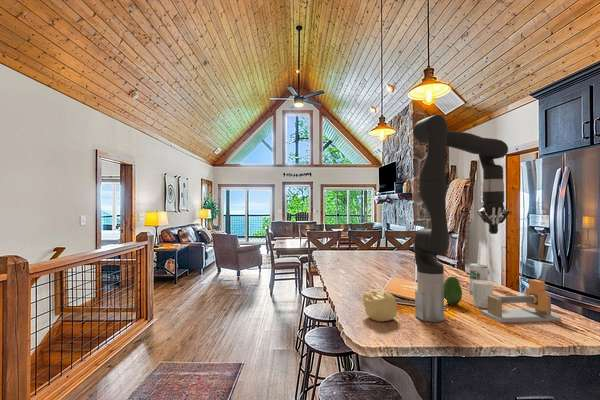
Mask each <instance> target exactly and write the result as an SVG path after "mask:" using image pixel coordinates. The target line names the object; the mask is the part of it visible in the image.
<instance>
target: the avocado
mask: <svg viewBox="0 0 600 400" xmlns="http://www.w3.org/2000/svg"><path fill="white" fill-rule="evenodd" d="M444 281H445V282H444V298H445V299H446V300H447V302H446V304H448V305H450V306H451V305H452V306H456V305H458V304H459V303H460V302H461V300H462V297H463V289H462V287H461V284H460V281H459V279H458V277H456V276H449V277H448V278H446V280H444Z"/></svg>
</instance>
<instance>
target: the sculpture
mask: <svg viewBox="0 0 600 400" xmlns="http://www.w3.org/2000/svg"><path fill="white" fill-rule="evenodd" d="M362 296H363V297H362V299H363V307H364V308H365V314H366V316H367V317H368V318H370V319H371V320H372V321H374V322H381V323H382V322H387V321H391V320H394V319H395V317H396V316H397V314H398V303H397V300H396V298H395V297H394V295H392V293H390V292H388V291H386V290H381V289H379V288H377V289H372V290H368V291H367V292H366V293H364V294H363V295H362Z"/></svg>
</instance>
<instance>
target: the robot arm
mask: <svg viewBox="0 0 600 400" xmlns="http://www.w3.org/2000/svg"><path fill="white" fill-rule="evenodd" d="M412 134H413V136H414V139H416V140H417V141H418V142H419V143H422V144H423V143H424V144H427V154H426V158H425V160H424V163H423V166H422V167H421V170H420V172H419V177H418V186H419V187H418V191H419V192H418V193H419V197H420V200H421V201H422V204H423V205H424V207H425V208H426V210H427V212H428V214H429V216H430V217H429V218H430V223H431V228H420V229H418V230H417V231H416V233H415V236H414V244H413V245H414V260H415V266H416V270H417V271H416V273H417V275H416V276H417V277H416V278H417V279H416V280H417V285H416V286H417V288H416V289H417V290H416V289H415V292H414V296H415V297H414V303H415V304H414V308H415V309H414V313H415V315H414V316H415V317H417V319H420V320H421V321H422V322H432V323H439V322H440V323H441V322H444V320H445V300H444V283H445V282H444V281H445V275H444V274H445V273H444V272H445V271H444V270H445V269H444V265H443V264H442V263H441V262H439V261H438V260H437V259H436V258H435V257H434V255H436V256H437V255H438V256H442V255H444V254H446V252H447V251H448V249H449V243H450V242H449V241H450V240H449V238H450V237H449V228H448V221H447V219H448V218H447V205H446V203H447V201H446V200H447V199H446V198H447V197H446V192H447V189H446V188H447V186H446V185H447V181H446V179H447V178H446V153H447V148H448V147H449V148H454V149H456V150H459V151H464V152H467V153H469V154H473V155H478V159H479V162H480V164H481V168H482V171H483V172H482V174H483V175H482V178H483V181H482V203H483V205H482V208H481V209H480V210H477V211H476V213H477V214H478V216H479V217H480V218H481V219H482V221H483V223H486V224H488V232H489V234H491V235H497V234H498V233H499V225H500V224H502V223H503V222H505V220H506V219H507V217H508V216H509V215H510V214H511V213H510V210H507V209H506V208H505V206H504V202H505V183H504V168H503V166H502V165H501V164H496V163H495V161H494V160H497V159H502V158H504V157H505V156H507V154H508V152H509V146H508V145H507V143H506V142H505V141H503V140H501V139H497V138H492V137H491V138H490V137H482V136H480V135H476V134H473V133H470V132H464V131H453V130H449V129H448V123H447V121H446V118H445V117H444V116H442V115H441V114H433V115H431V116H428V117H426V118H425V117H424V118H423V119H420V120H418V121H417V122H416V123H415V124H414V126H413V130H412Z"/></svg>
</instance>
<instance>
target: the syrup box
mask: <svg viewBox="0 0 600 400" xmlns="http://www.w3.org/2000/svg"><path fill="white" fill-rule="evenodd" d="M488 269H489V267H488V265H487V264H483V263H482V264H481V263H477V262H475V263H473V262H472V263H469V291H468V293H469V294H470V295H473V292H472V281H473V280H483V281H489V280H488V279H489V277H488V276H489V273H488V272H489V270H488Z"/></svg>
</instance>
